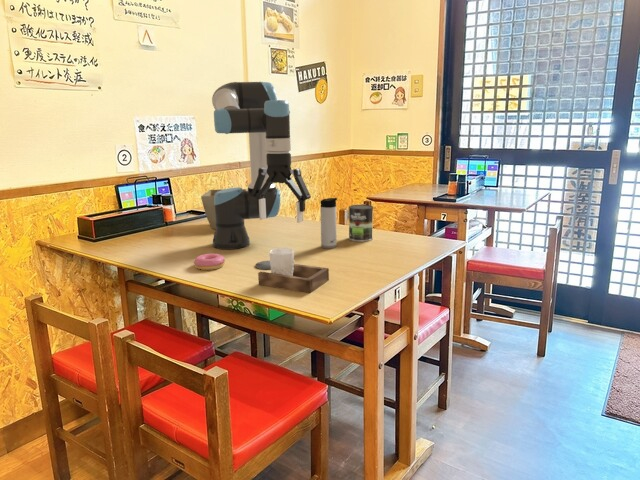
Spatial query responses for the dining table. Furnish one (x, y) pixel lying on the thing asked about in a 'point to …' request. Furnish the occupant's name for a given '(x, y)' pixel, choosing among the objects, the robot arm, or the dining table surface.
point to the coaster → (263, 265)
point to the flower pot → (211, 206)
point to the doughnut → (209, 261)
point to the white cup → (282, 261)
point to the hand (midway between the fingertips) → (281, 220)
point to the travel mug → (328, 223)
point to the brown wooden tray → (296, 278)
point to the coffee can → (360, 223)
